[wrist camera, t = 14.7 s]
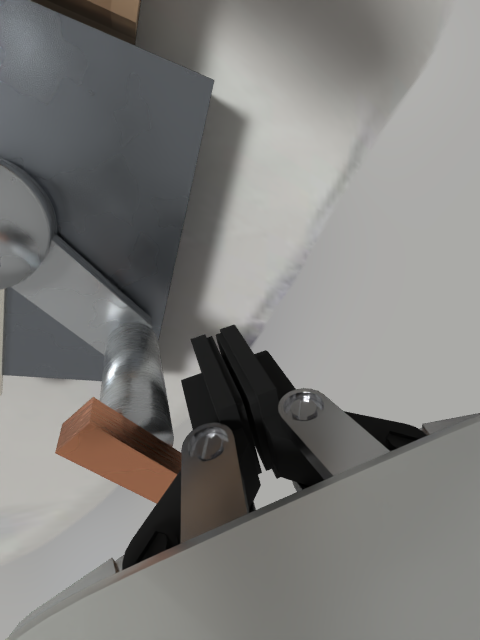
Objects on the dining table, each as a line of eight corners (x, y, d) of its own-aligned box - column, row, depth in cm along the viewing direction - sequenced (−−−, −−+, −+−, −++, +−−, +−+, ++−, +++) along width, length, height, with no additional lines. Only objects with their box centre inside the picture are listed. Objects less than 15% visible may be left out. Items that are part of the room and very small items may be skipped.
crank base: (-279, -111, 9) (-385, -182, 7) (204, 89, 14) (215, 79, 13) (-189, 355, 14) (-238, 385, 12) (144, 378, 20) (145, 401, 18)
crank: (-119, 211, 11) (-526, 291, 4) (-28, 121, 11) (-300, 50, 4) (130, 386, 17) (131, 545, 10) (194, 330, 17) (242, 452, 10)
